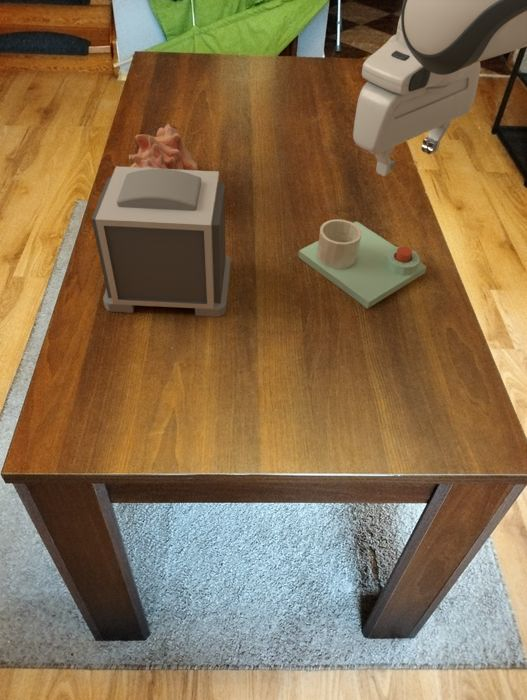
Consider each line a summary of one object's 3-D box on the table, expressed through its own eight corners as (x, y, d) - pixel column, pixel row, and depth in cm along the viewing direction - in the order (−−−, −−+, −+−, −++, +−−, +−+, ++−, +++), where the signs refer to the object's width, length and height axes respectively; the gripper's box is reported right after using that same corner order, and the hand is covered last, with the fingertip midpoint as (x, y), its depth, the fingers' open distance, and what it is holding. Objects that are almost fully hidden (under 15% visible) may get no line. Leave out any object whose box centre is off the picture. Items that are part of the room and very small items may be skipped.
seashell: (225, 210, 99) (161, 155, 88) (170, 250, 105) (105, 204, 94) (215, 135, 111) (158, 80, 101) (167, 175, 117) (109, 127, 107)
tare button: (413, 259, 93) (415, 251, 92) (403, 265, 92) (405, 257, 91) (401, 252, 94) (404, 244, 93) (392, 257, 93) (394, 250, 92)
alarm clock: (231, 261, 95) (230, 160, 81) (225, 317, 86) (224, 213, 72) (120, 256, 95) (101, 153, 81) (103, 311, 86) (78, 206, 72)
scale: (424, 273, 95) (429, 259, 93) (367, 308, 88) (370, 294, 86) (355, 227, 103) (357, 213, 101) (297, 257, 96) (299, 242, 94)
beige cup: (364, 258, 95) (370, 233, 91) (336, 274, 92) (340, 249, 88) (336, 239, 98) (340, 214, 94) (308, 253, 95) (311, 228, 91)
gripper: (462, 29, 74) (436, 131, 84) (352, 66, 65) (338, 176, 75) (503, 43, 71) (471, 148, 81) (394, 84, 62) (374, 196, 72)
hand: (407, 162), depth 78 cm, fingers open, 8 cm apart
